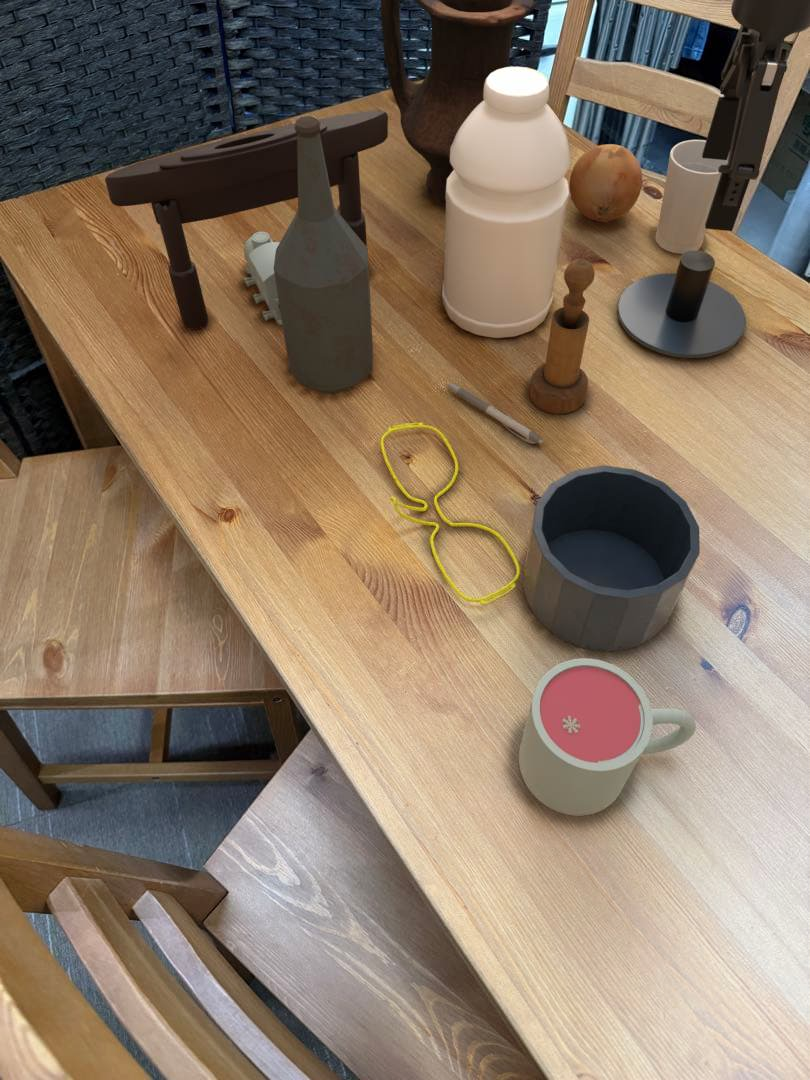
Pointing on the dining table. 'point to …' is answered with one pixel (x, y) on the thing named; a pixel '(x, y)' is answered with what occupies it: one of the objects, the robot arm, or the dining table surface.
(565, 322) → the mortar and pestle
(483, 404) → the pen
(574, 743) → the mug
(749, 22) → the robot arm
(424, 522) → the glasses
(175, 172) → the stool
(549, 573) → the pot
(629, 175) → the onion
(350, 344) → the bottle
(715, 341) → the lid
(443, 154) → the jug
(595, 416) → the dining table surface
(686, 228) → the cup
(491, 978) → the dining table surface
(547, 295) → the bottle
